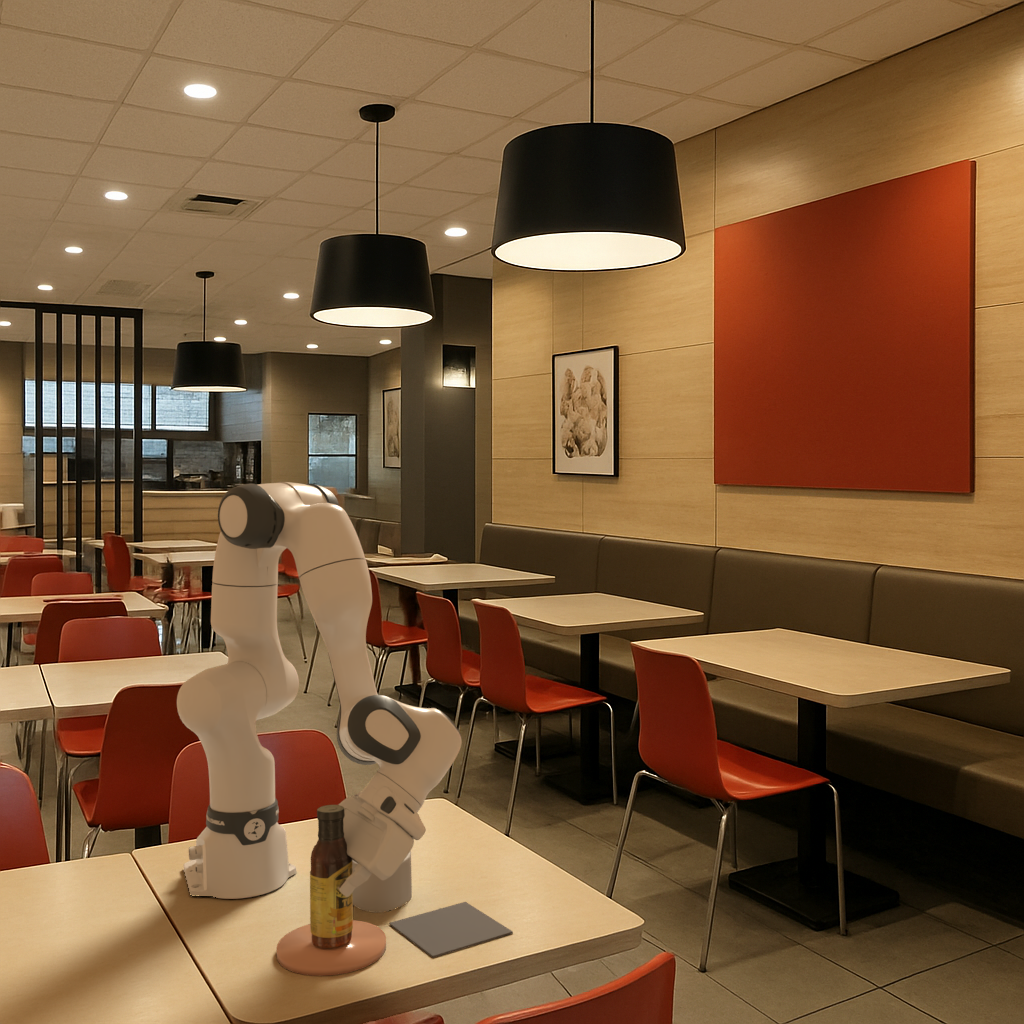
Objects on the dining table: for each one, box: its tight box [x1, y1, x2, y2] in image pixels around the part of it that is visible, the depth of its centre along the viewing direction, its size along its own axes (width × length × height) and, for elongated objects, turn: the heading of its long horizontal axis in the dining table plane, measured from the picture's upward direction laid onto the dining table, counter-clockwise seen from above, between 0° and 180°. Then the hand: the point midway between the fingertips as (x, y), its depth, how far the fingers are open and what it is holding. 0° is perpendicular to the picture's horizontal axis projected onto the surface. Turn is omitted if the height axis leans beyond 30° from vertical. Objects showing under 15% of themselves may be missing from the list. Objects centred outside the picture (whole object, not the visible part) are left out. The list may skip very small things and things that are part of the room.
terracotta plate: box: [276, 919, 387, 977], centre depth 149 cm, size 16×16×1 cm
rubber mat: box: [389, 901, 514, 959], centre depth 156 cm, size 14×14×1 cm
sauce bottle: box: [309, 804, 354, 949], centre depth 149 cm, size 7×6×20 cm
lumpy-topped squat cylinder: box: [352, 850, 413, 913], centre depth 169 cm, size 10×13×9 cm
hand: (328, 883), depth 149 cm, fingers open, 8 cm apart
